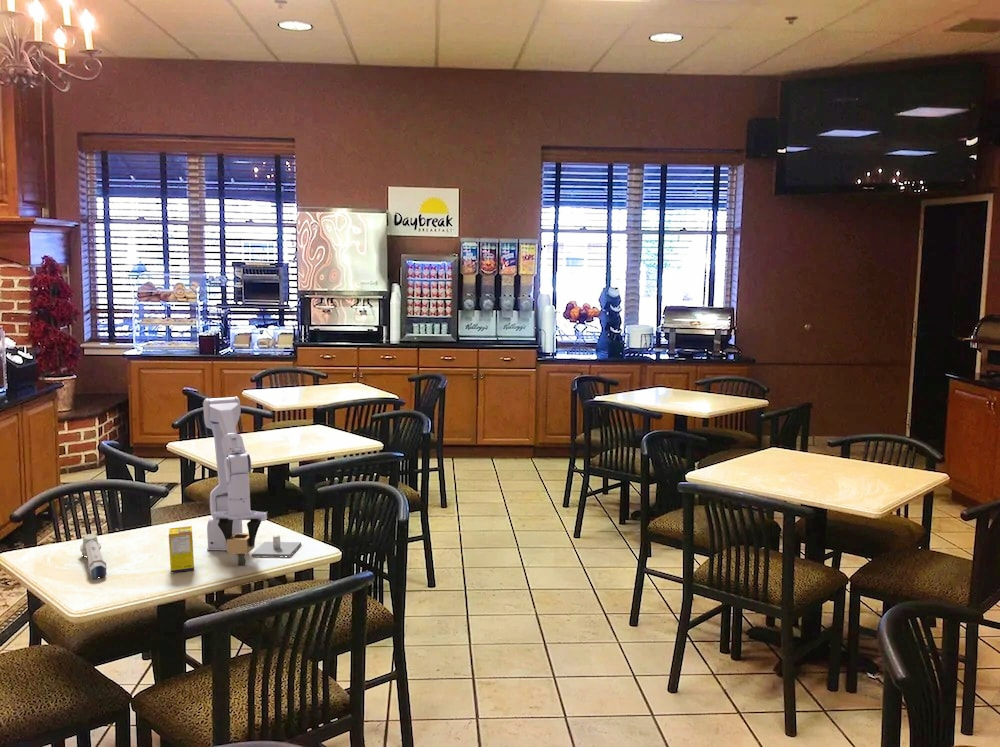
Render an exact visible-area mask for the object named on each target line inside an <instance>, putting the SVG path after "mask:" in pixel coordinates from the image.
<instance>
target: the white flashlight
mask: <svg viewBox="0 0 1000 747" xmlns="http://www.w3.org/2000/svg"><path fill="white" fill-rule="evenodd" d="M79 549H80V552H81V556H82V555H83V556H87V558H86V559H87V563H88V565H87V572H88V573H89V574H90V578H91V579H93V578H98V577H104V576H105V577H106V576H107V562H106V561H104V558H103V555H102V553H101V549H102V545H101V543H100V542H99V541H98V536H97V535H96V534H94V533H89V534H88V533H87V534H85V535H84V536H83V538H82V544H81V545H80V546H79ZM105 577H104V578H105Z"/></svg>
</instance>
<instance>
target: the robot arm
mask: <svg viewBox="0 0 1000 747" xmlns="http://www.w3.org/2000/svg"><path fill="white" fill-rule="evenodd" d="M202 403H203V404H202V409H203V420H204V425H205V428H207V429H210V430H211V432H212V434H213V441H214V449H215V450H214V451H215V459H216V470H217V481H218V485H216V486H215V487H214V488H213V489H212V490H211V491H210V493H209V511H210V512H209V513H210V515H211V517H210V518H209V519H208V522H207V526H206V533H207V535H206V536H207V548H206V551H227V539H228V538H229V537H230V536H231V535H233V534H234V533H243V521H248V522H246V527H247V530H248V531H247V532H248V533H249V546H250V547H252V546H253V545H254V544H255V543H256V538H257V533H258V531H259V527H260V525H261V523H262V522H265V521H267V519H268V513H267V512H266V511H265V512H264V511H256V510H251V491H250V489H251V488H250V474H251V473H252V472H251V471H252V459H251V455H250V453H249V452H248V450H246V447H245V443H244V440H243V437H242V436H241V434H239V433H238V432H237V426H238V422H239V420H240V416H241V401H240V398H239V397H238V396H237V395H236V396H231V397H217V398H205V399H204V400H203V402H202Z"/></svg>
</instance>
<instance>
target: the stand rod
mask: <svg viewBox="0 0 1000 747" xmlns="http://www.w3.org/2000/svg"><path fill="white" fill-rule="evenodd" d="M241 565H242V566H245V565H246V554H237V566H238V567H240V566H241Z"/></svg>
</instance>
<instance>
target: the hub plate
mask: <svg viewBox="0 0 1000 747" xmlns="http://www.w3.org/2000/svg"><path fill="white" fill-rule="evenodd" d="M300 545H301V546H302V541H300V542H299V541H296V542H295V541H281V535H279V534H276V535H273V536H272V541H264V542H263V543H262V544H260V545H259V547H257V548H256V549H255V550H254V551H253V552H251V557H252V556H261V557H260V558H263V557H262V556H273V557H272V558H281V557H280V556H283V557H282V558H291V557H292V556H293V554H294V553H295V552H296V551H297V550H298V549H299V548H300V547H301V546H300ZM299 546H300V547H299ZM298 547H299V548H298ZM297 548H298V549H297ZM296 549H297V550H296ZM295 550H296V551H295ZM294 551H295V552H294ZM292 553H293V554H292ZM285 556H287V557H285ZM290 556H291V557H290Z"/></svg>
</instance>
